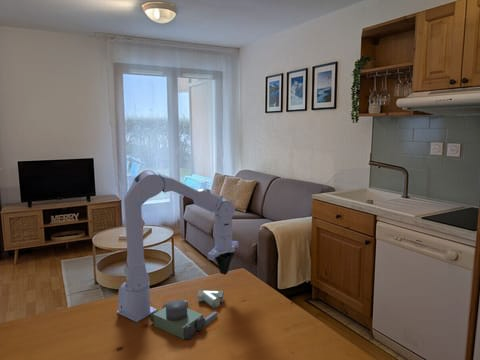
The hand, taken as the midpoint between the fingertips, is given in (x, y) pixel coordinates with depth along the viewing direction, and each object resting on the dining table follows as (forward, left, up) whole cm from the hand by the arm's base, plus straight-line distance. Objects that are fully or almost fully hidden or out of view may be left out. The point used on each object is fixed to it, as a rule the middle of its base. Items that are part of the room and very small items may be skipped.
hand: (223, 273), depth 120 cm
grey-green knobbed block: (0, -19, -8) cm, 21 cm away
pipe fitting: (0, -7, -8) cm, 11 cm away
